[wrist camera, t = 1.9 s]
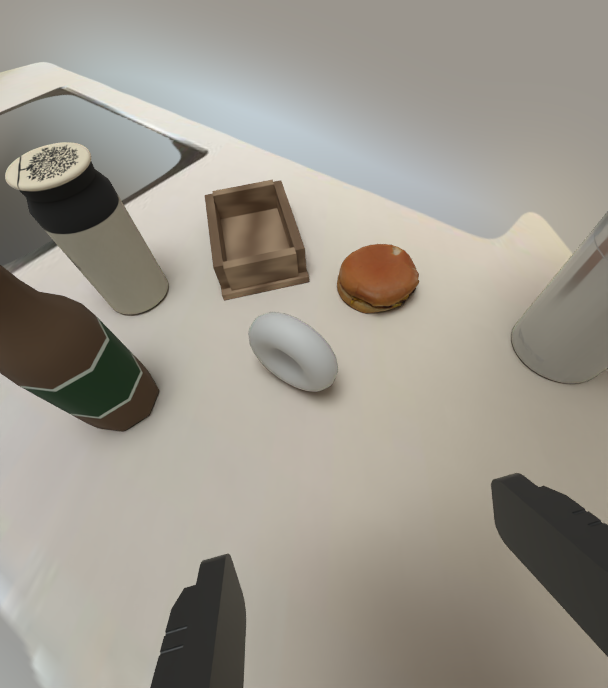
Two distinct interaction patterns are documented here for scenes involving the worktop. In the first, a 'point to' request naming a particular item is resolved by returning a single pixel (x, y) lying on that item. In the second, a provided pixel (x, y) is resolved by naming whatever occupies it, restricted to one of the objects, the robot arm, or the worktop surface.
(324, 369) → the donut
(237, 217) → the walnut stand
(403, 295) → the burger
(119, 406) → the beer bottle
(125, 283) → the travel mug
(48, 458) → the worktop surface
